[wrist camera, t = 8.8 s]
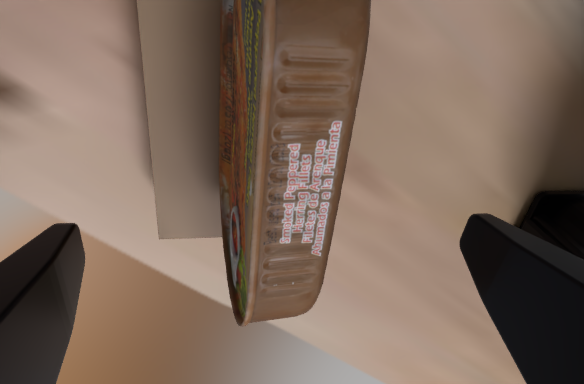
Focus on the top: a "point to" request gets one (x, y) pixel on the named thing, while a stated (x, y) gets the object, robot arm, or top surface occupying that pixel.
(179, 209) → the stand
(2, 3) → the top surface
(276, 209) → the tin
